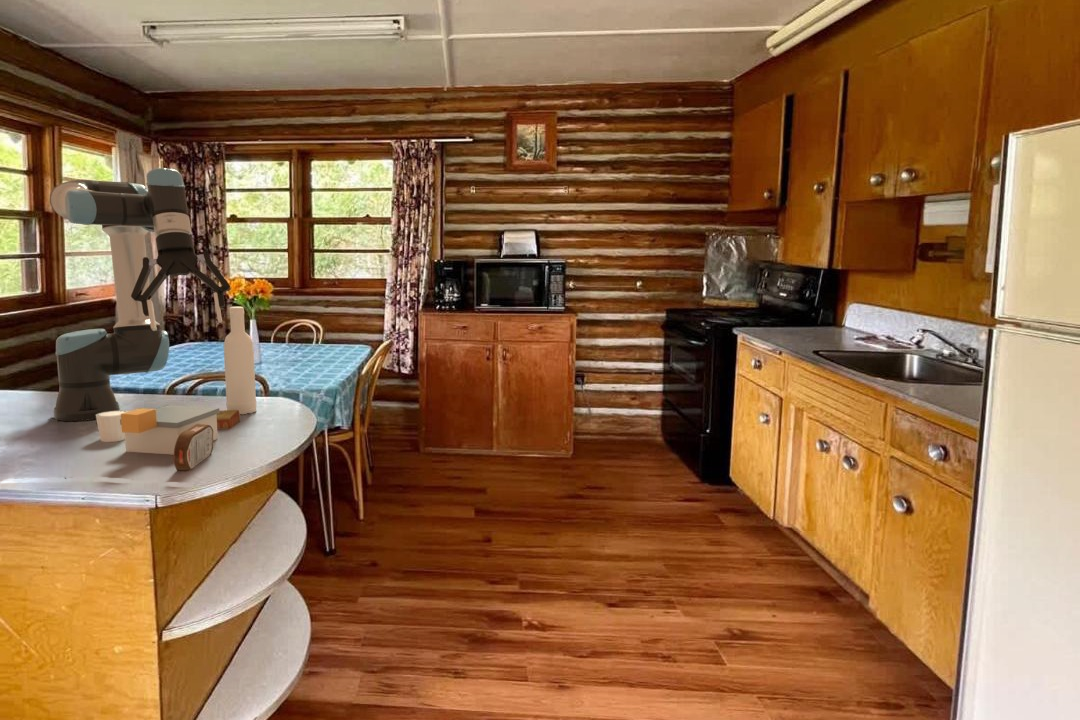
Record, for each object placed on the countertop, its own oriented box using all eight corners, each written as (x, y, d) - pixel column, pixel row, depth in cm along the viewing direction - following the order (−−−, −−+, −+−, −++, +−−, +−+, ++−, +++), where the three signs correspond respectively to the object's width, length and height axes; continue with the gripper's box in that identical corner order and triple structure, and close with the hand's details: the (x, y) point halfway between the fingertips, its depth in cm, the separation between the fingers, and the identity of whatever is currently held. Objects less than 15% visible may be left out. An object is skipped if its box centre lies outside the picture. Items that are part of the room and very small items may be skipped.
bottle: (233, 408, 200) (228, 305, 196) (260, 408, 200) (256, 306, 196) (222, 414, 192) (216, 307, 188) (250, 415, 193) (245, 308, 188)
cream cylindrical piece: (100, 439, 166) (98, 411, 164) (133, 437, 168) (131, 409, 167) (95, 446, 159) (92, 417, 158) (129, 444, 162) (127, 415, 161)
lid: (101, 437, 147) (99, 412, 146) (167, 416, 167) (165, 393, 166) (160, 441, 145) (159, 416, 144) (219, 419, 165) (218, 396, 164)
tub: (126, 454, 153) (124, 424, 152) (168, 438, 167) (167, 410, 166) (179, 458, 151) (177, 427, 150) (217, 441, 165) (216, 413, 164)
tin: (202, 455, 154) (200, 419, 153) (217, 455, 154) (215, 419, 153) (173, 477, 139) (170, 436, 138) (189, 477, 139) (186, 436, 138)
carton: (231, 433, 175) (230, 416, 174) (163, 434, 172) (162, 418, 172) (240, 424, 183) (239, 409, 182) (176, 426, 181) (174, 410, 180)
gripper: (107, 235, 150) (121, 329, 148) (231, 226, 159) (245, 314, 157) (115, 245, 157) (128, 336, 155) (233, 236, 166) (247, 321, 164)
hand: (187, 325), depth 156 cm, fingers open, 13 cm apart
